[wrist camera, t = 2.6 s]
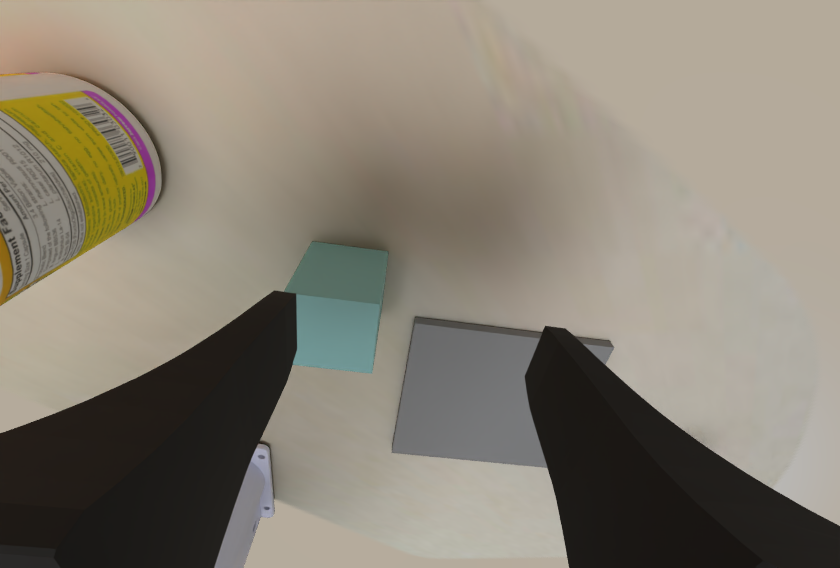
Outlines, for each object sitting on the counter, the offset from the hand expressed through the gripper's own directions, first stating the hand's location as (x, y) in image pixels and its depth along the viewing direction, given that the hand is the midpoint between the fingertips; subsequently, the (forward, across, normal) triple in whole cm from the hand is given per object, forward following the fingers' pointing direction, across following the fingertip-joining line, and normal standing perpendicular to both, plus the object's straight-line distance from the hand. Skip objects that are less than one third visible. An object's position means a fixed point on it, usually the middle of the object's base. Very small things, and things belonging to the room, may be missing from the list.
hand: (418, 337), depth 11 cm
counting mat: (+10, -7, +12) cm, 17 cm away
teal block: (+10, +3, +4) cm, 11 cm away
